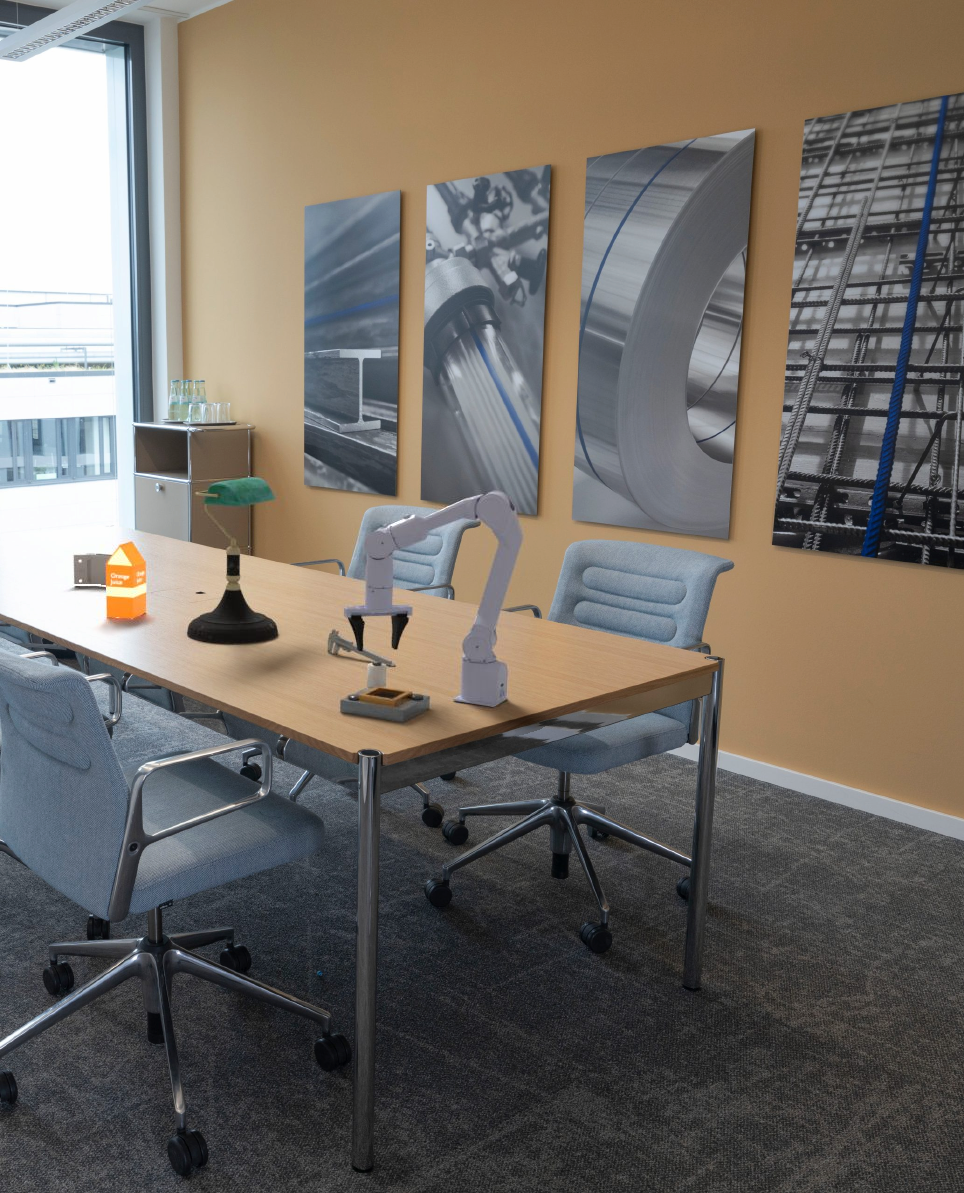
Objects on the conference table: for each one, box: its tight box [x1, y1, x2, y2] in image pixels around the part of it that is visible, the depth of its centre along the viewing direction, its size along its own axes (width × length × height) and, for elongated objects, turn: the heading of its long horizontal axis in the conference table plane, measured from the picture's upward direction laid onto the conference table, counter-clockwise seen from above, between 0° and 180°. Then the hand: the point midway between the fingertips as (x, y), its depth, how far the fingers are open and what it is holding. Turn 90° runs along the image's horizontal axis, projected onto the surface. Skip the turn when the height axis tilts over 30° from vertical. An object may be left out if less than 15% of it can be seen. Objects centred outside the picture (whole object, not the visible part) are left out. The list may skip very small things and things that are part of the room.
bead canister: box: [366, 660, 387, 688], centre depth 233 cm, size 4×4×7 cm
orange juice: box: [105, 541, 147, 619], centre depth 297 cm, size 8×9×20 cm
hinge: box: [73, 552, 113, 585], centre depth 339 cm, size 14×5×10 cm, turn 94°
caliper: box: [327, 629, 397, 668], centre depth 261 cm, size 20×1×6 cm, turn 57°
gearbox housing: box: [339, 686, 431, 724], centre depth 220 cm, size 14×12×4 cm
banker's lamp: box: [186, 476, 279, 644], centre depth 279 cm, size 26×23×40 cm
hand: (377, 649), depth 232 cm, fingers open, 7 cm apart
